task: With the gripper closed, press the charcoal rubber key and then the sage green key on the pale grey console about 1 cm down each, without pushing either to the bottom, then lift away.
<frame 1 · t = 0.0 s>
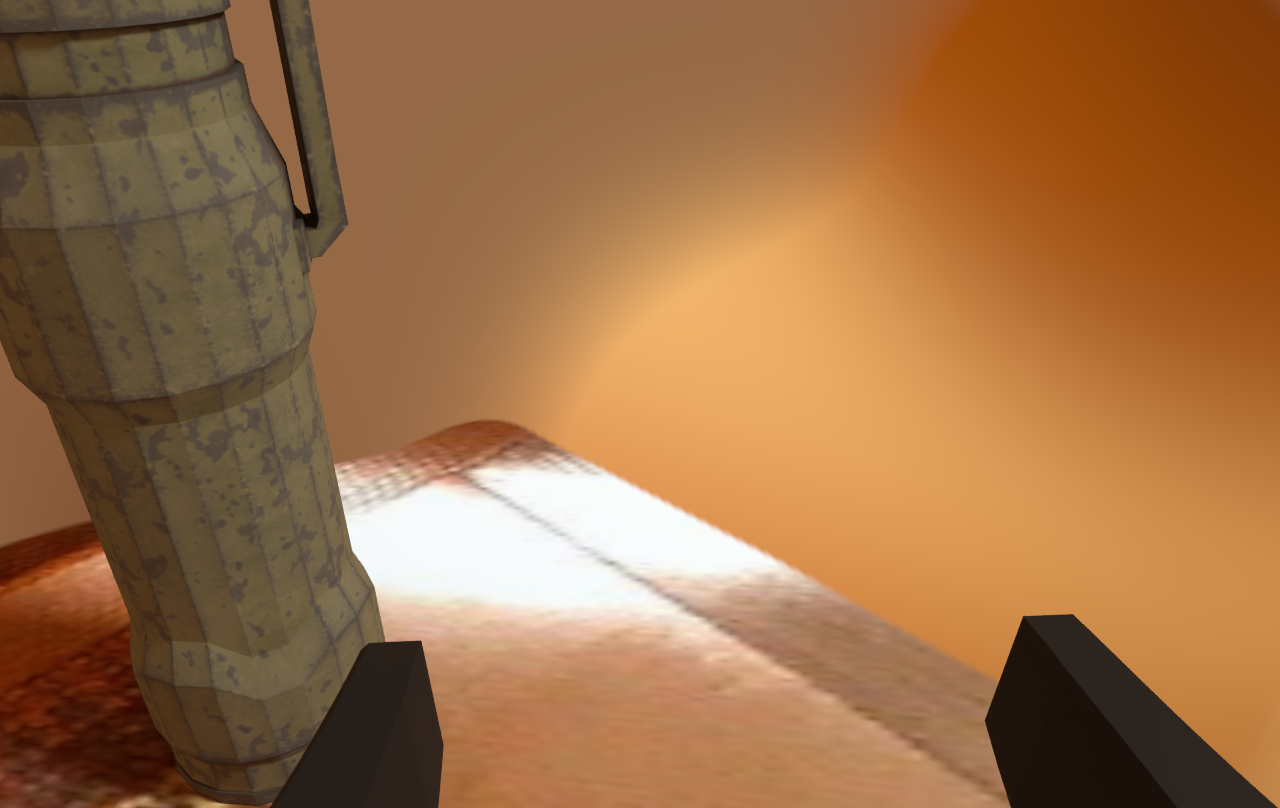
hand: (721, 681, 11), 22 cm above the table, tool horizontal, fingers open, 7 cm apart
thermos: (288, 716, 38), on the table
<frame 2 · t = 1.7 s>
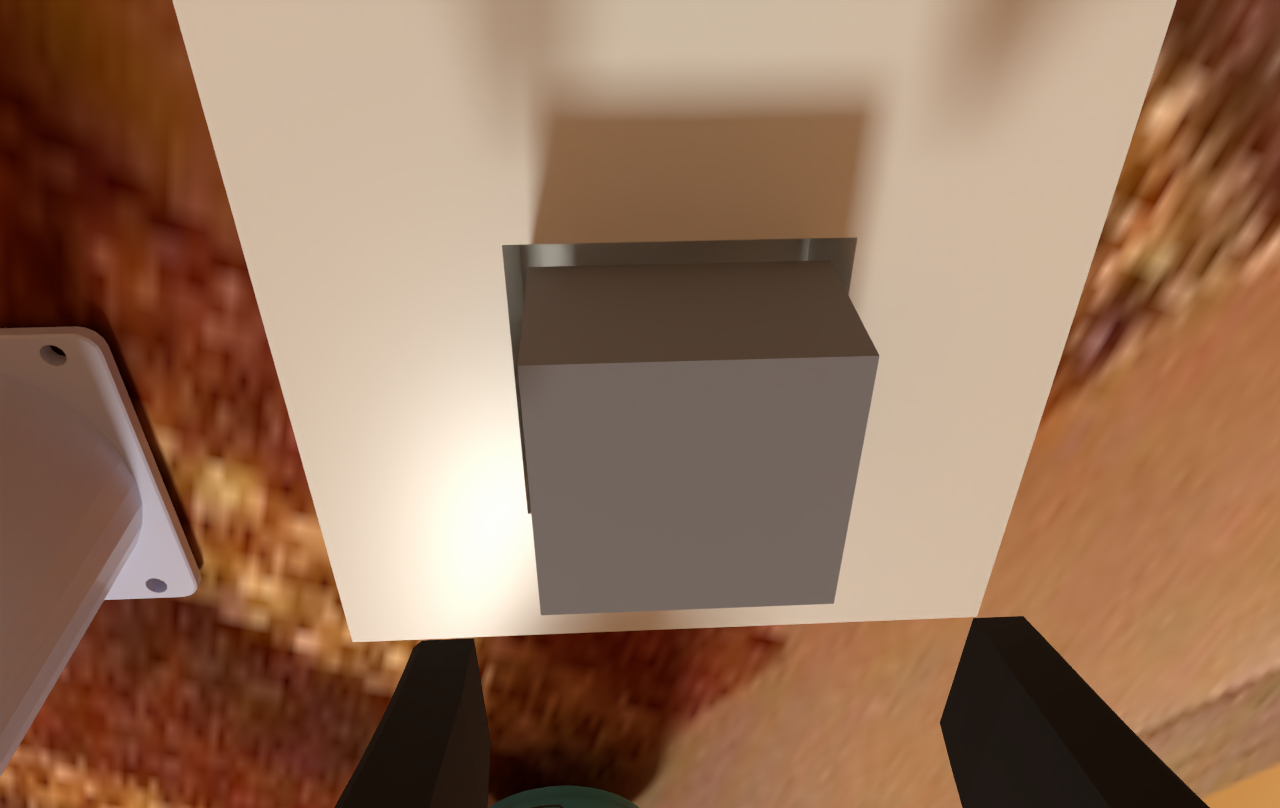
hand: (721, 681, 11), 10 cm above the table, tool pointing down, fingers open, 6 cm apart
console: (665, 16, 16), on the table
beverage bottle: (565, 789, 31), on the table
charcoal key: (684, 439, 15), point 6 cm above the table, slide at 0.0 cm
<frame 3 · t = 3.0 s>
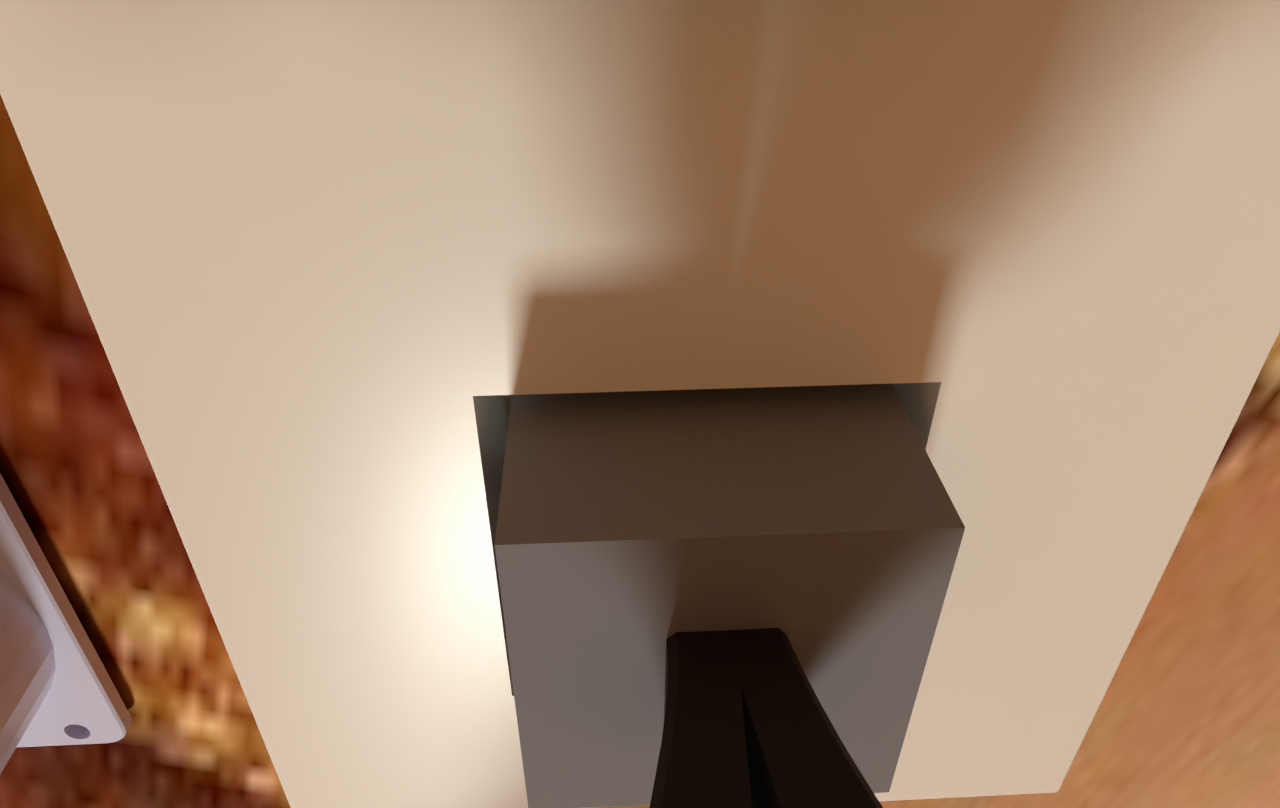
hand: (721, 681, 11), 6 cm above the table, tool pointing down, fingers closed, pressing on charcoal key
console: (685, 82, 13), on the table
charcoal key: (705, 594, 12), point 5 cm above the table, slide at 0.8 cm, touching gripper
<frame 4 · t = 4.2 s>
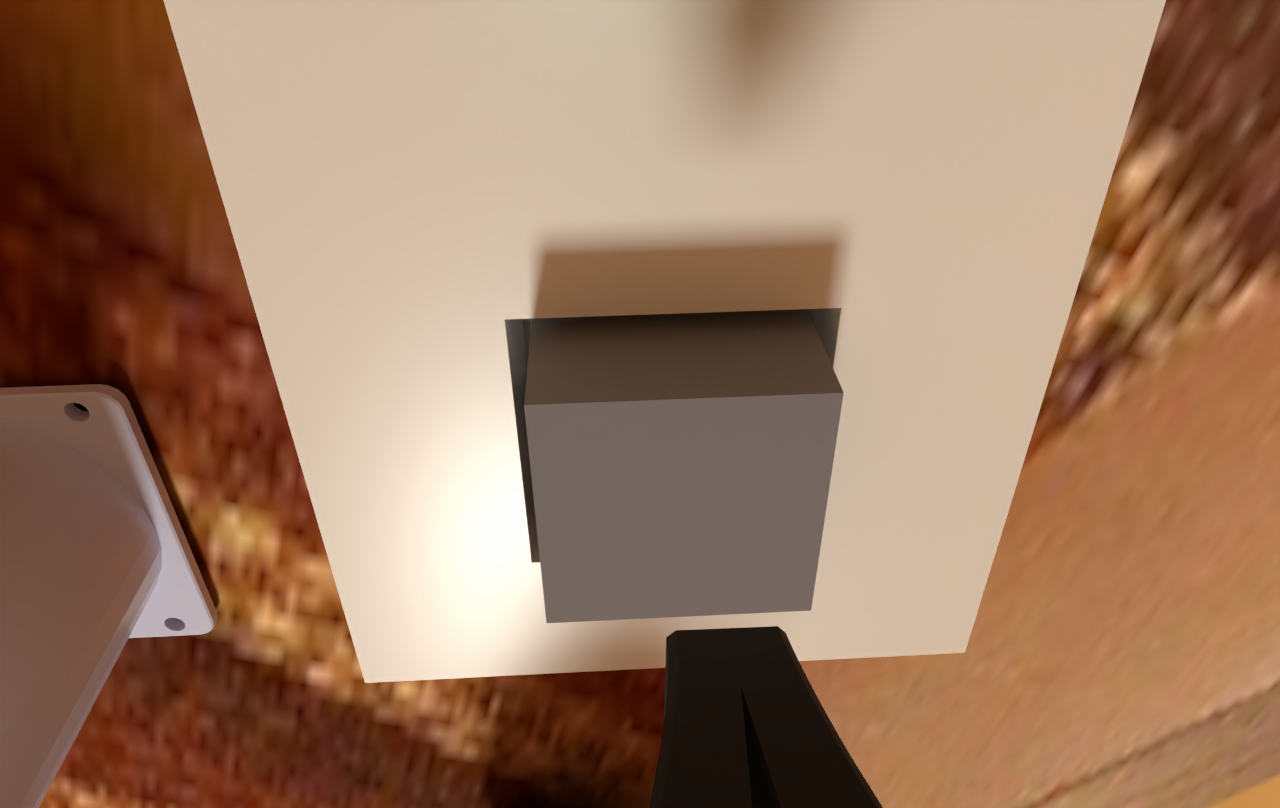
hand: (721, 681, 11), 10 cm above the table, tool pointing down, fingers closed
console: (658, 92, 17), on the table
charcoal key: (674, 463, 16), point 4 cm above the table, slide at 1.0 cm
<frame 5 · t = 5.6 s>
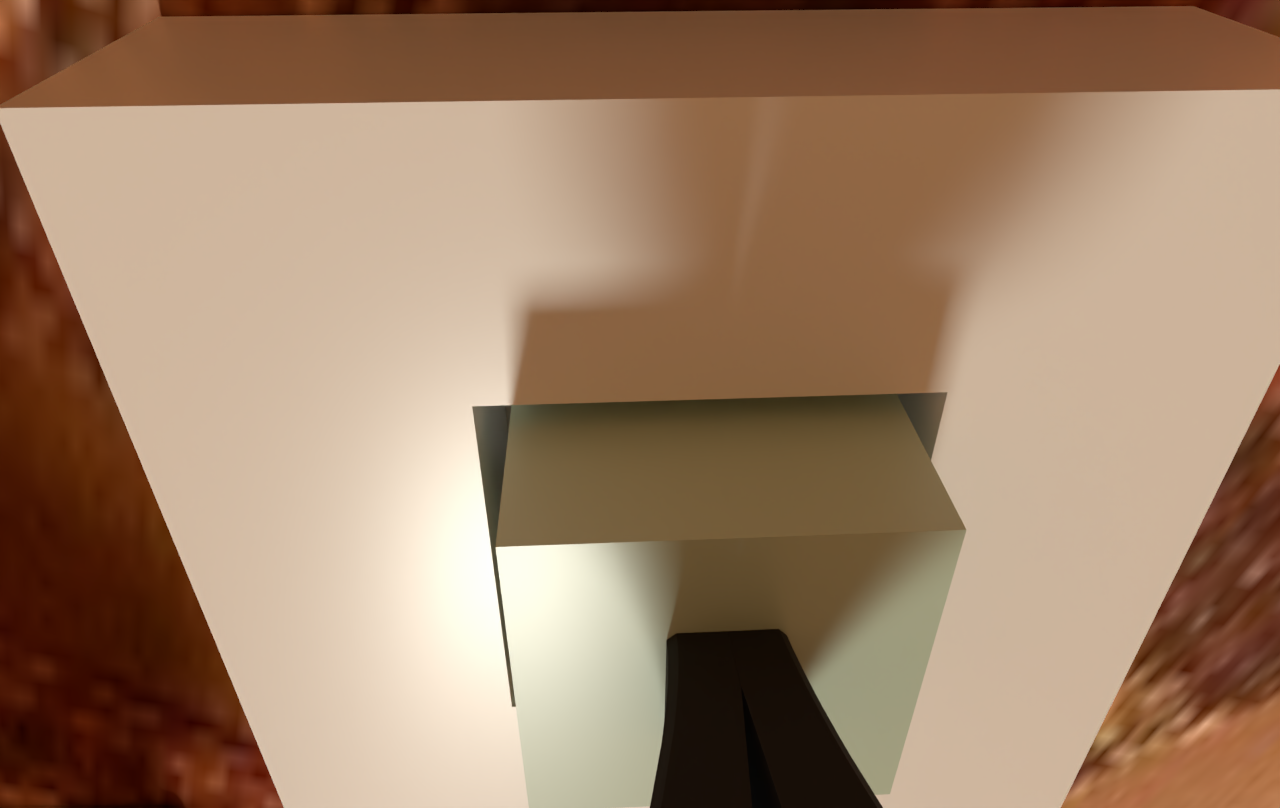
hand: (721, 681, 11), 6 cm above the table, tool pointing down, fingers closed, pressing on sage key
sage key: (706, 595, 12), point 4 cm above the table, slide at 1.0 cm, touching gripper
console: (671, 616, 19), on the table
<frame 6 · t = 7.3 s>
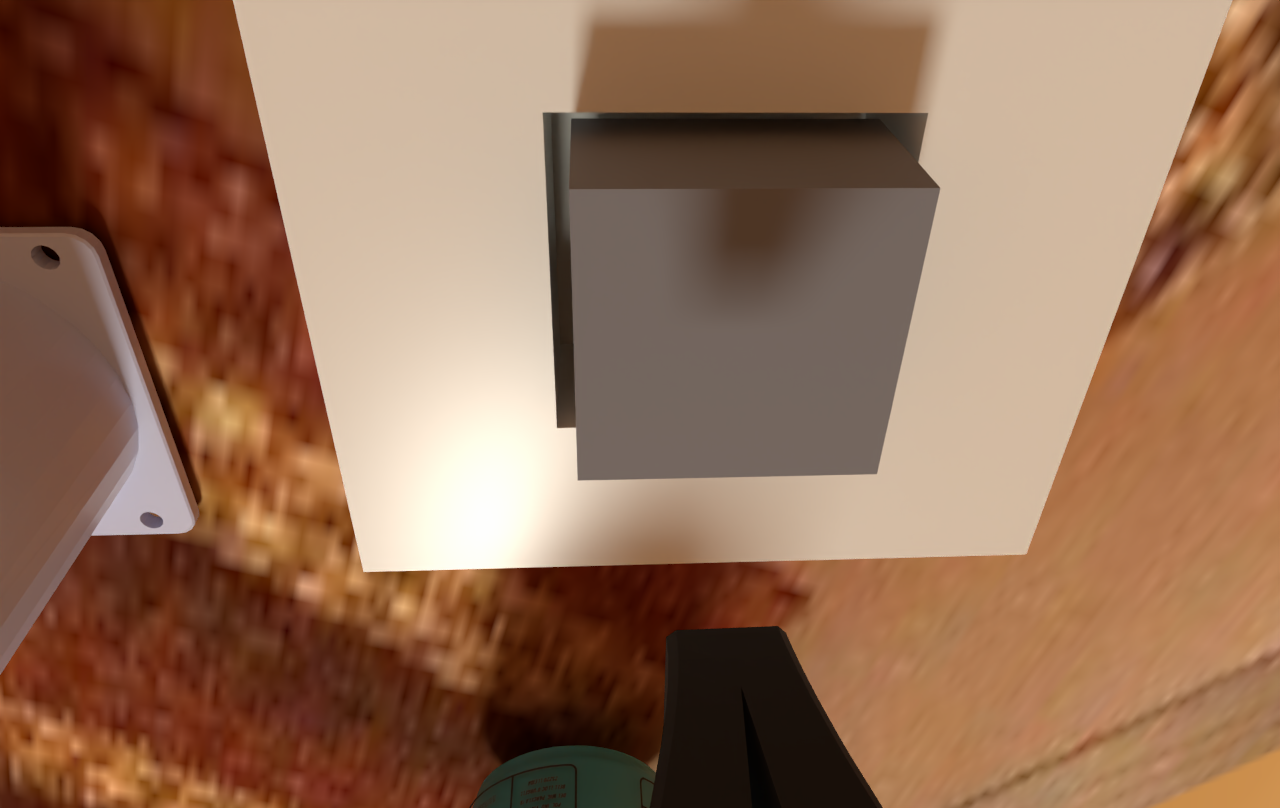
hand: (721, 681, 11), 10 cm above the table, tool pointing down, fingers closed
beverage bottle: (575, 753, 29), on the table
charcoal key: (727, 300, 14), point 4 cm above the table, slide at 1.0 cm
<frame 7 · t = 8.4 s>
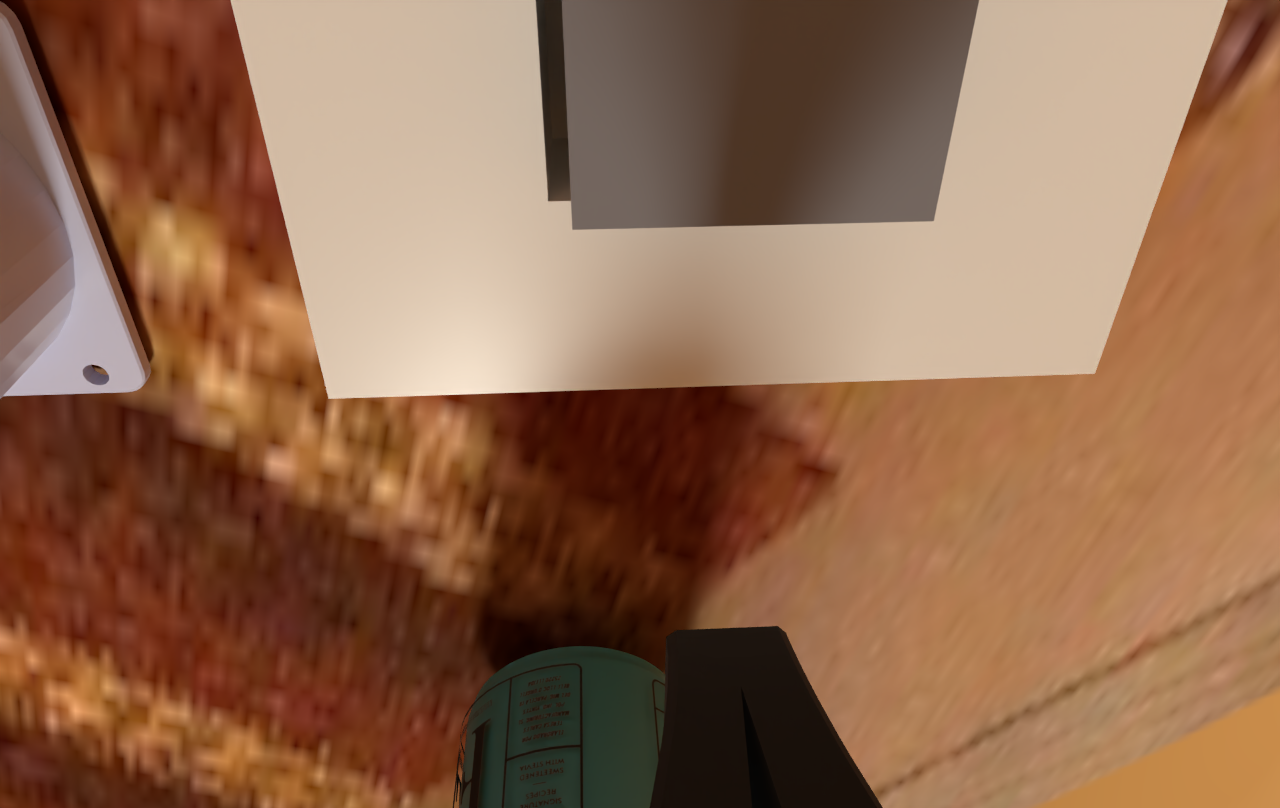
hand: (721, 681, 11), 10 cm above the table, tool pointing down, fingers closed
beverage bottle: (580, 666, 27), on the table
charcoal key: (750, 6, 12), point 4 cm above the table, slide at 1.0 cm
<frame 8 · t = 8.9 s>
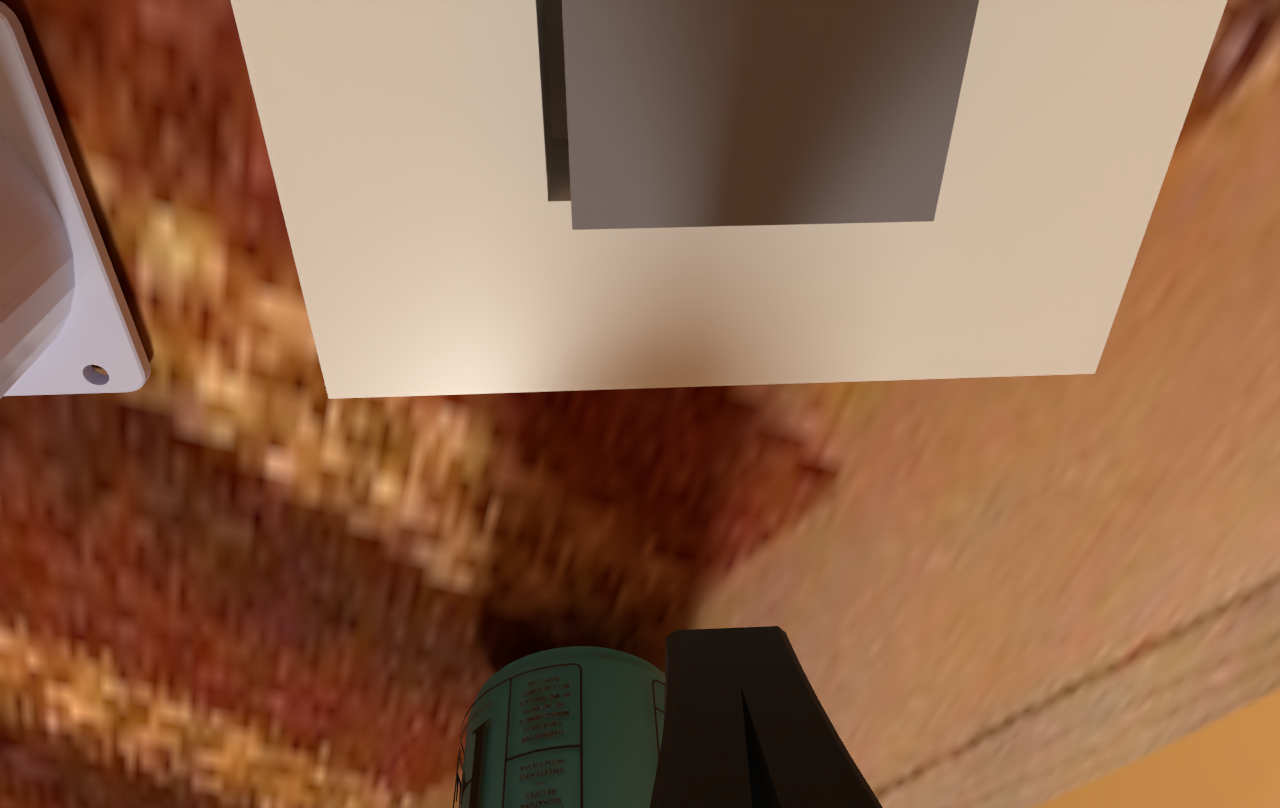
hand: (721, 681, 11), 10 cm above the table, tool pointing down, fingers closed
beverage bottle: (580, 666, 27), on the table
charcoal key: (750, 6, 12), point 4 cm above the table, slide at 1.0 cm
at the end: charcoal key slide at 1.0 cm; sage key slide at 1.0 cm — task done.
